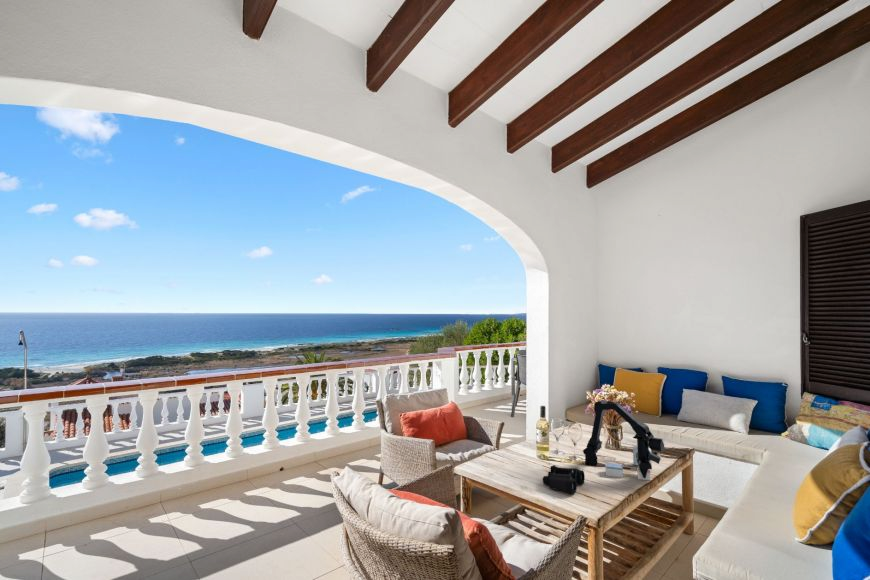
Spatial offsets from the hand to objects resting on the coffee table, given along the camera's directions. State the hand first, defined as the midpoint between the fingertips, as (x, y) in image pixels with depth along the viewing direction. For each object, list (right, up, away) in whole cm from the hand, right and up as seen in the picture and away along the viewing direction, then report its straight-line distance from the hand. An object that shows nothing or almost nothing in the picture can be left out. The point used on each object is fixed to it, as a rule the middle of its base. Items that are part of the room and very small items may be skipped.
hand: (643, 476), depth 227 cm
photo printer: (+8, -2, +17) cm, 19 cm away
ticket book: (-14, -2, +5) cm, 15 cm away
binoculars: (-48, -2, -8) cm, 48 cm away
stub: (0, -1, 0) cm, 1 cm away
